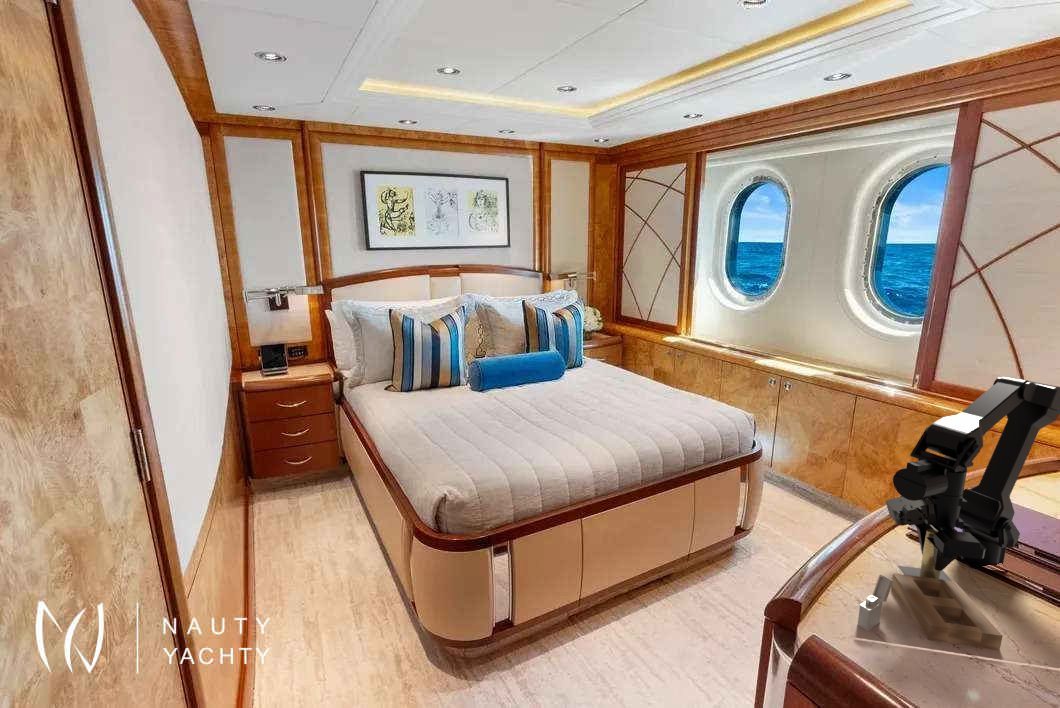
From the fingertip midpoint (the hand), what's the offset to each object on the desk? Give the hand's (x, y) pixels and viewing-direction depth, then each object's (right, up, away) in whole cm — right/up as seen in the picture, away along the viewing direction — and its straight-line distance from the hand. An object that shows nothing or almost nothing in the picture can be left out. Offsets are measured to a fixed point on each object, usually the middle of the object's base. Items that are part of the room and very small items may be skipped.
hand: (931, 562), depth 98 cm
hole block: (-6, -6, -9) cm, 12 cm away
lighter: (-18, -6, -10) cm, 22 cm away
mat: (0, -4, +1) cm, 4 cm away
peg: (0, -3, +1) cm, 4 cm away
